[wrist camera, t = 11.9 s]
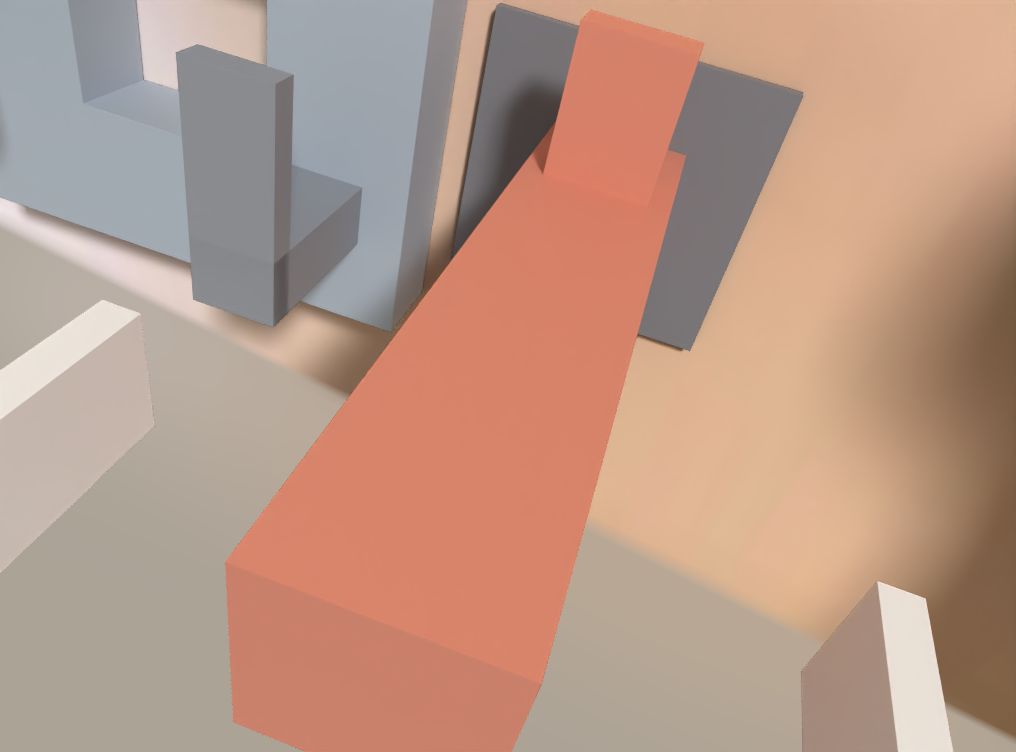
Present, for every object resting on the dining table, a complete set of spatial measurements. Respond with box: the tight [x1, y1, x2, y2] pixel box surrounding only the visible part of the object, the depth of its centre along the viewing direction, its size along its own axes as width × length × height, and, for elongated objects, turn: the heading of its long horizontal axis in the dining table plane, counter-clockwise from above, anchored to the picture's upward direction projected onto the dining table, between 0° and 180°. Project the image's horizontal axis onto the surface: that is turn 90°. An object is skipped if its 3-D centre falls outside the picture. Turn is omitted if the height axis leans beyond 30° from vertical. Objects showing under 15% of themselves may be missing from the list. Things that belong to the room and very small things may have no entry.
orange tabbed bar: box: [225, 10, 704, 752], centre depth 17 cm, size 12×4×18 cm, turn 168°
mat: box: [451, 3, 803, 351], centre depth 24 cm, size 9×9×1 cm
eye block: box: [0, 0, 467, 332], centre depth 21 cm, size 16×16×8 cm
